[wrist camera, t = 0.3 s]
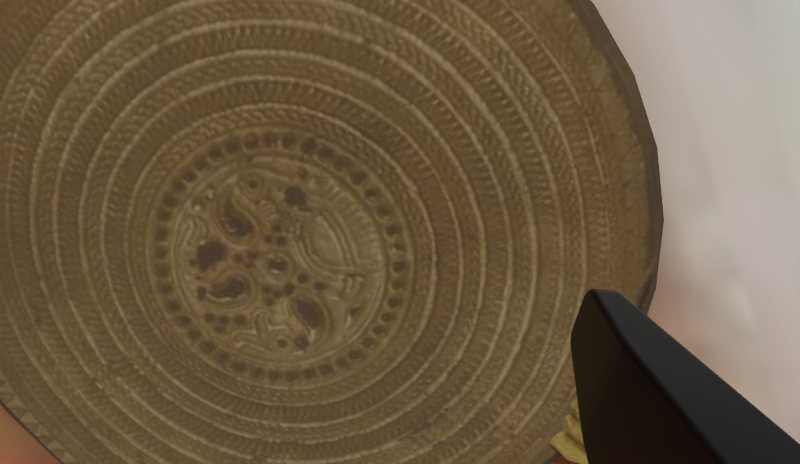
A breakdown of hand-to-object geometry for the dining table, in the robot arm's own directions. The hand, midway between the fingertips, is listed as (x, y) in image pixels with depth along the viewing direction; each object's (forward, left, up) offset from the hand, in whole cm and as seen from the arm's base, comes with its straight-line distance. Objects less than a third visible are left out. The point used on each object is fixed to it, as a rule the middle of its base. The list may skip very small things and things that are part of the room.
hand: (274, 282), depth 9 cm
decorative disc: (-5, -3, -16) cm, 17 cm away
